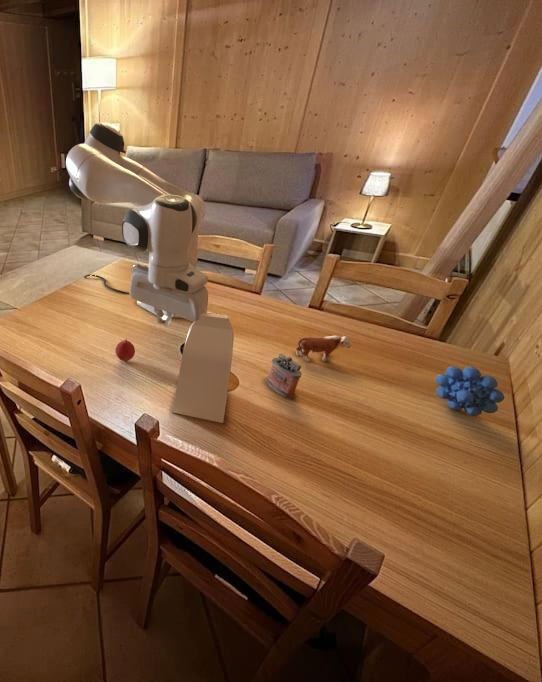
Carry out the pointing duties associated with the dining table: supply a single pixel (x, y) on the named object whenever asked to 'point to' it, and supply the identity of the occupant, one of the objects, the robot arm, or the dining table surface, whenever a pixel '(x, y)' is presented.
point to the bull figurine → (321, 345)
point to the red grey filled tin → (284, 376)
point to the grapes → (469, 390)
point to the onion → (125, 350)
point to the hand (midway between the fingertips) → (164, 323)
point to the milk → (205, 368)
